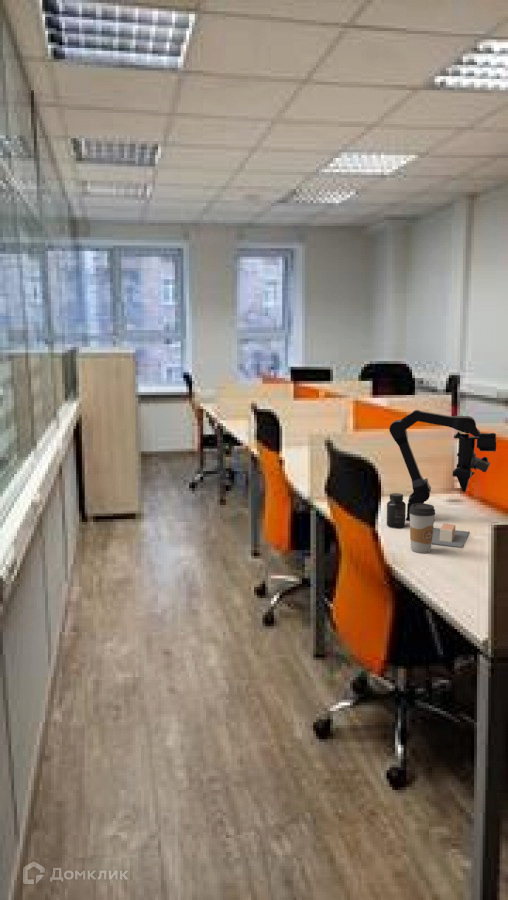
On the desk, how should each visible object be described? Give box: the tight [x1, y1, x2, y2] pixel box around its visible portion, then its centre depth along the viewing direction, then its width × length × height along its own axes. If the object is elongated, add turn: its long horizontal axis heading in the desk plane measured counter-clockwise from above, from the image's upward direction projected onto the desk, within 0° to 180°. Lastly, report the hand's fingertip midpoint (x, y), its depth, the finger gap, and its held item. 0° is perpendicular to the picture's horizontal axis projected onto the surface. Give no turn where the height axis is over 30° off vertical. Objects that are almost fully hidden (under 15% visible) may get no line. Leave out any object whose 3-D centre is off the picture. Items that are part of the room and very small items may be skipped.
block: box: [440, 523, 456, 542], centre depth 234 cm, size 4×4×8 cm
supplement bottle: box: [386, 492, 407, 529], centre depth 249 cm, size 7×7×12 cm
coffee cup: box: [409, 503, 436, 554], centre depth 221 cm, size 8×8×15 cm
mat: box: [431, 527, 470, 549], centre depth 236 cm, size 13×19×1 cm
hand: (464, 491), depth 252 cm, fingers closed
